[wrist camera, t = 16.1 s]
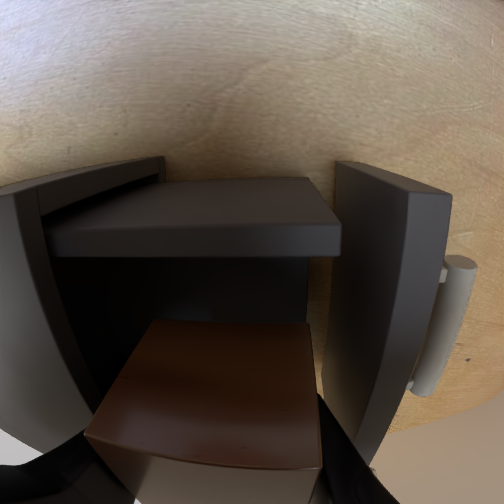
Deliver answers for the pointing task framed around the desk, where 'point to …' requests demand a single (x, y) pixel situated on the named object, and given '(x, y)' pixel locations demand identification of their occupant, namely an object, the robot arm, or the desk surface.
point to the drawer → (273, 276)
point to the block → (214, 415)
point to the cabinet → (47, 306)
